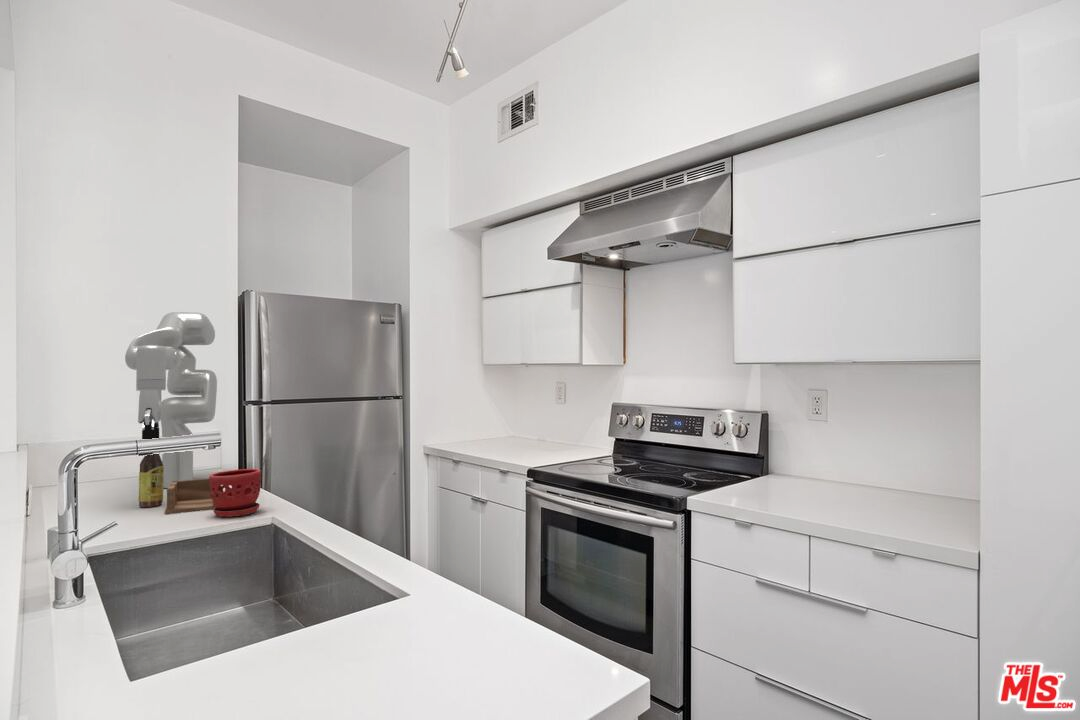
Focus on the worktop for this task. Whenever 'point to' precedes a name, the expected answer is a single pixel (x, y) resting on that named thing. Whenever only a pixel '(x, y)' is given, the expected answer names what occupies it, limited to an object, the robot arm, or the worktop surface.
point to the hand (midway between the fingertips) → (150, 442)
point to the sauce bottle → (151, 481)
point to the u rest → (189, 496)
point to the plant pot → (235, 491)
